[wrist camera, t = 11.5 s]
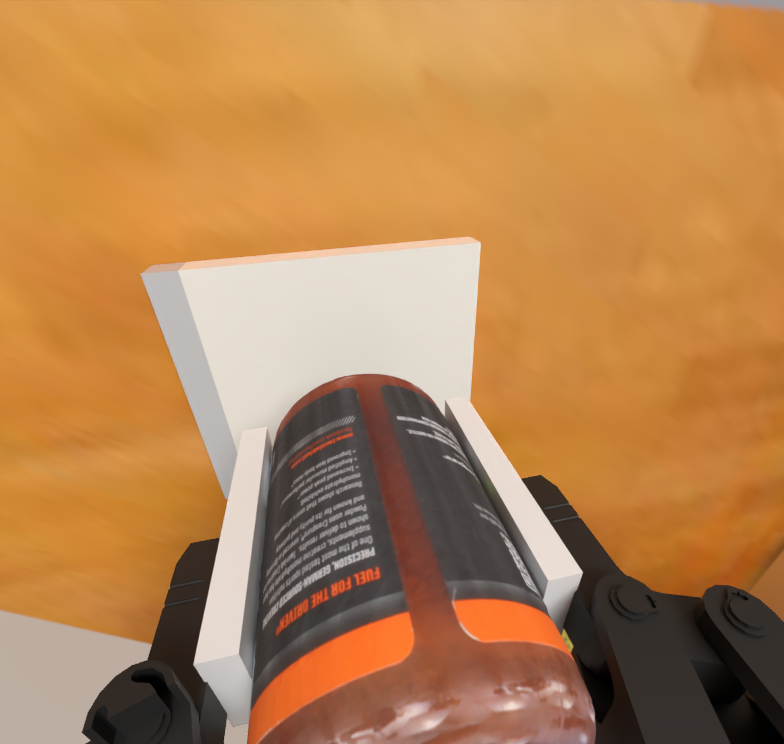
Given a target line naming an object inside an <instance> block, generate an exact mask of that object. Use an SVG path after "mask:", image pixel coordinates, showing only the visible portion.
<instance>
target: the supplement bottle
mask: <svg viewBox="0 0 784 744" xmlns="http://www.w3.org/2000/svg"><path fill="white" fill-rule="evenodd" d="M595 737H596V724H595V711H594V708H593V704H592V699H591V697H590V694H589V692H588V690H587V687H586V685H585V683H584V681H583V679H582V677H581V675H580V672H579V670H578V667H577V665H576V663H575V661H574V659H573V657H572V655H571V653H570V651H569V649H568V647H567V646H566V644H565V642H564V640H563V638H562V636H561V634H560V633H559V631H558V629H557V627H556V626H555V624H554V622H553V621H552V619H551V617H550V615H549V614H548V610H547V606H546V605H545V603H544V601H543V600H542V598H541V596H540V594H539V592H538V590H537V588H536V587H535V585H534V583H533V581H532V579H531V577H530V575H529V573H528V572H527V570H526V568H525V566H524V564H523V562H522V560H521V559H520V557H519V555H518V553H517V551H516V549H515V548H514V546H513V544H512V542H511V540H510V538H509V536H508V534H507V532H506V531H505V529H504V527H503V525H502V523H501V521H500V519H499V518H498V516H497V514H496V512H495V510H494V508H493V506H492V504H491V502H490V501H489V499H488V497H487V495H486V493H485V491H484V489H483V488H482V486H481V484H480V482H479V480H478V478H477V476H476V475H475V473H474V471H473V469H472V467H471V465H470V463H469V462H468V460H467V458H466V456H465V454H464V452H463V451H462V449H461V447H460V445H459V443H458V441H457V439H456V438H455V436H454V434H453V432H452V430H451V428H450V426H449V424H448V422H447V420H446V419H445V417H444V415H443V414H442V413H441V411H440V409H439V408H438V407H437V405H436V403H435V402H434V401H433V400H432V398H431V397H430V396H429V395H427V394H426V393H425V392H424V391H423V390H422V389H420V388H419V387H417V386H415V385H414V384H412V383H411V382H408V381H406V380H403V379H401V378H397V377H394V376H389V375H383V374H356V375H349V376H344V377H339V378H336V379H334V380H332V381H329V382H327V383H324V384H322V385H320V386H318V387H316V388H315V389H313V390H312V391H310V392H309V393H307V394H306V395H305V396H303V397H302V398H301V399H300V400H298V401H297V402H296V403H295V404H294V405H293V406H292V407H291V409H290V410H289V411H288V412H287V414H286V415H285V417H284V418H283V420H282V421H281V423H280V426H279V428H278V430H277V433H276V437H275V441H274V446H273V451H272V456H271V467H270V480H269V491H268V501H267V515H266V523H265V537H264V549H263V560H262V566H261V580H260V592H259V609H258V613H257V626H256V642H255V652H254V664H253V676H252V688H251V701H250V713H249V729H248V741H247V744H595Z"/></svg>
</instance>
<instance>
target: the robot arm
mask: <svg viewBox="0 0 784 744" xmlns="http://www.w3.org/2000/svg"><path fill="white" fill-rule="evenodd" d="M445 419H446V420H447V422H448V424H449V426H450V428H451V430H452V432H453V434H454V436H455V438H456V439H457V441H458V443H459V445H460V447H461V449H462V451H463V452H464V454H465V456H466V458H467V460H468V462H469V463H470V465H471V467H472V469H473V471H474V473H475V475H476V476H477V478H478V480H479V482H480V484H481V486H482V488H483V489H484V491H485V493H486V495H487V497H488V499H489V501H490V502H491V504H492V506H493V508H494V510H495V512H496V514H497V516H498V518H499V519H500V521H501V523H502V525H503V527H504V529H505V531H506V532H507V534H508V536H509V538H510V540H511V542H512V544H513V546H514V548H515V549H516V551H517V553H518V555H519V557H520V559H521V560H522V562H523V564H524V566H525V568H526V570H527V572H528V573H529V575H530V577H531V579H532V581H533V583H534V585H535V587H536V588H537V590H538V592H539V594H540V596H541V598H542V600H543V601H544V603H545V605H546V606H547V610H548V614H549V615H550V617H551V619H552V621H553V622H554V624H555V626H556V627H557V629H558V631H559V633H560V634H561V635H562V632H563V630H565V632H566V633H567V635H568V637H569V639H570V641H571V643H572V644H573V649H572V651H571V655H572V657H573V659H574V661H575V663H576V665H577V667H578V670H579V672H580V675H581V677H582V679H583V681H584V683H585V685H586V687H587V690H588V692H589V694H590V697H591V699H592V704H593V708H594V711H595V724H596V737H595V744H784V622H783V621H782V620H781V619H780V618H779V617H778V616H777V615H776V614H775V613H774V612H773V611H772V610H771V609H770V608H769V607H768V606H766V605H765V604H764V603H763V602H762V601H761V600H759V599H758V598H756V597H754V596H752V595H751V594H749V593H747V592H746V591H744V590H741V589H738V588H735V587H732V586H729V585H715V586H713V587H710V588H708V589H707V590H706V591H705V593H704V594H703V596H702V598H699V597H690V596H681V595H672V594H664V593H659V592H655V591H652V590H650V589H649V588H648V587H647V586H646V585H645V584H643V583H641V582H640V581H638V580H636V579H634V578H632V577H630V576H626V575H625V574H624V573H623V572H622V571H621V570H620V569H619V568H618V567H617V566H616V564H615V563H614V562H613V560H612V559H611V558H610V556H609V555H608V554H607V552H606V551H605V550H604V548H603V547H602V546H601V544H600V543H599V542H598V540H597V539H596V538H595V537H594V535H593V534H592V533H591V531H590V530H589V529H588V527H587V526H586V525H585V523H584V522H583V521H582V519H581V518H579V517H578V514H577V513H576V511H575V510H574V509H573V507H572V506H571V505H569V502H568V501H567V499H566V498H565V497H564V495H563V494H562V493H561V491H560V490H559V489H558V487H556V486H555V485H554V484H552V483H551V482H550V481H548V480H547V479H545V478H544V477H543V476H541V475H538V476H533V477H528V478H523V479H521V478H520V477H519V475H518V474H517V472H516V471H515V469H514V468H513V466H512V465H511V463H510V462H509V460H508V459H507V457H506V456H505V454H504V453H503V451H502V450H501V448H500V447H499V445H498V444H497V442H496V441H495V439H494V438H493V436H492V435H491V433H490V431H489V430H488V428H487V427H486V425H485V424H484V422H483V421H482V419H481V418H480V416H479V415H478V413H477V412H476V410H475V409H474V407H473V406H472V404H471V403H470V401H469V400H468V398H467V397H466V396H464V397H457V398H451V399H445ZM272 451H273V448H272V444H271V440H270V436H269V432H268V429H267V427H263V428H257V429H250V430H244V431H242V436H241V440H240V445H239V450H238V455H237V459H236V464H235V469H234V474H233V478H232V483H231V488H230V493H229V497H228V502H227V507H226V512H225V517H224V521H223V526H222V531H221V536H220V538H216V539H211V540H206V541H200V542H195V543H191V544H190V545H189V547H188V548H187V549H186V551H185V552H184V554H183V555H182V557H181V558H180V559H179V561H178V562H177V564H176V567H175V570H174V574H173V577H172V580H171V584H170V590H168V594H167V597H166V600H165V607H164V608H163V610H162V613H161V617H160V620H159V623H158V627H157V630H156V633H155V637H154V640H153V643H152V647H151V650H150V653H149V657H148V660H147V661H144V662H141V663H138V664H135V665H132V666H130V667H129V668H128V669H126V670H124V671H123V672H121V673H120V674H118V675H117V676H116V677H114V679H113V680H112V681H111V682H110V683H109V684H108V685H107V686H106V687H105V688H104V689H103V690H102V691H101V692H100V693H99V695H98V697H97V699H96V700H95V702H94V703H93V705H92V707H91V709H90V710H89V712H88V714H87V717H86V721H85V724H84V728H83V731H82V733H83V734H84V735H85V736H86V737H88V738H89V739H90V740H91V741H89V742H88V743H86V744H224V735H225V727H226V719H227V718H228V720H229V721H230V723H231V725H232V726H233V727H235V726H239V725H242V724H247V723H249V713H250V701H251V688H252V676H253V664H254V652H255V642H256V626H257V613H258V609H259V592H260V580H261V566H262V560H263V549H264V537H265V523H266V515H267V501H268V491H269V480H270V467H271V456H272Z"/></svg>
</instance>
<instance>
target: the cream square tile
mask: <svg viewBox="0 0 784 744" xmlns="http://www.w3.org/2000/svg"><path fill="white" fill-rule="evenodd" d="M480 248H481V242H479V241H477V240H475V239H473V238H471V237H459V238H448V239H437V240H426V241H415V242H404V243H393V244H382V245H370V246H359V247H348V248H337V249H326V250H315V251H304V252H293V253H281V254H270V255H259V256H248V257H237V258H226V259H215V260H204V261H192V262H181V263H170V264H159V265H152V266H151V267H149V268H148V269H147V270H145V271H144V272H143V273H141V276H142V279H143V282H144V284H145V287H146V290H147V292H148V295H149V298H150V300H151V303H152V306H153V308H154V311H155V314H156V316H157V319H158V322H159V324H160V327H161V329H162V332H163V335H164V337H165V340H166V343H167V345H168V348H169V351H170V353H171V356H172V359H173V361H174V364H175V367H176V369H177V372H178V375H179V377H180V380H181V382H182V385H183V388H184V390H185V393H186V396H187V398H188V401H189V404H190V406H191V409H192V412H193V414H194V417H195V420H196V422H197V425H198V428H199V430H200V433H201V436H202V438H203V441H204V443H205V446H206V449H207V451H208V454H209V457H210V459H211V462H212V465H213V467H214V470H215V473H216V475H217V478H218V481H219V483H220V486H221V489H222V491H223V494H224V496H225V499H228V497H229V493H230V488H231V483H232V478H233V474H234V469H235V464H236V459H237V455H238V450H239V445H240V440H241V436H242V431H244V430H250V429H257V428H263V427H267V429H268V432H269V436H270V440H271V444H272V448H273V446H274V441H275V437H276V433H277V430H278V428H279V426H280V423H281V421H282V420H283V418H284V417H285V415H286V414H287V412H288V411H289V410H290V409H291V407H292V406H293V405H294V404H295V403H296V402H297V401H298V400H300V399H301V398H302V397H303V396H305V395H306V394H307V393H309V392H310V391H312V390H313V389H315V388H316V387H318V386H320V385H322V384H324V383H327V382H329V381H332V380H334V379H336V378H339V377H344V376H349V375H356V374H383V375H389V376H394V377H397V378H401V379H403V380H406V381H408V382H411V383H412V384H414V385H415V386H417V387H419V388H420V389H422V390H423V391H424V392H425V393H426V394H427V395H429V396H430V397H431V398H432V400H433V401H434V402H435V403H436V405H437V407H438V408H439V409H440V411H441V413H442V414H443V415H444V417H445V399H451V398H457V397H464V396H466V397H467V398H468V400H469V401H470V393H471V379H472V364H473V350H474V335H475V321H476V306H477V291H478V277H479V262H480Z"/></svg>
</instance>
